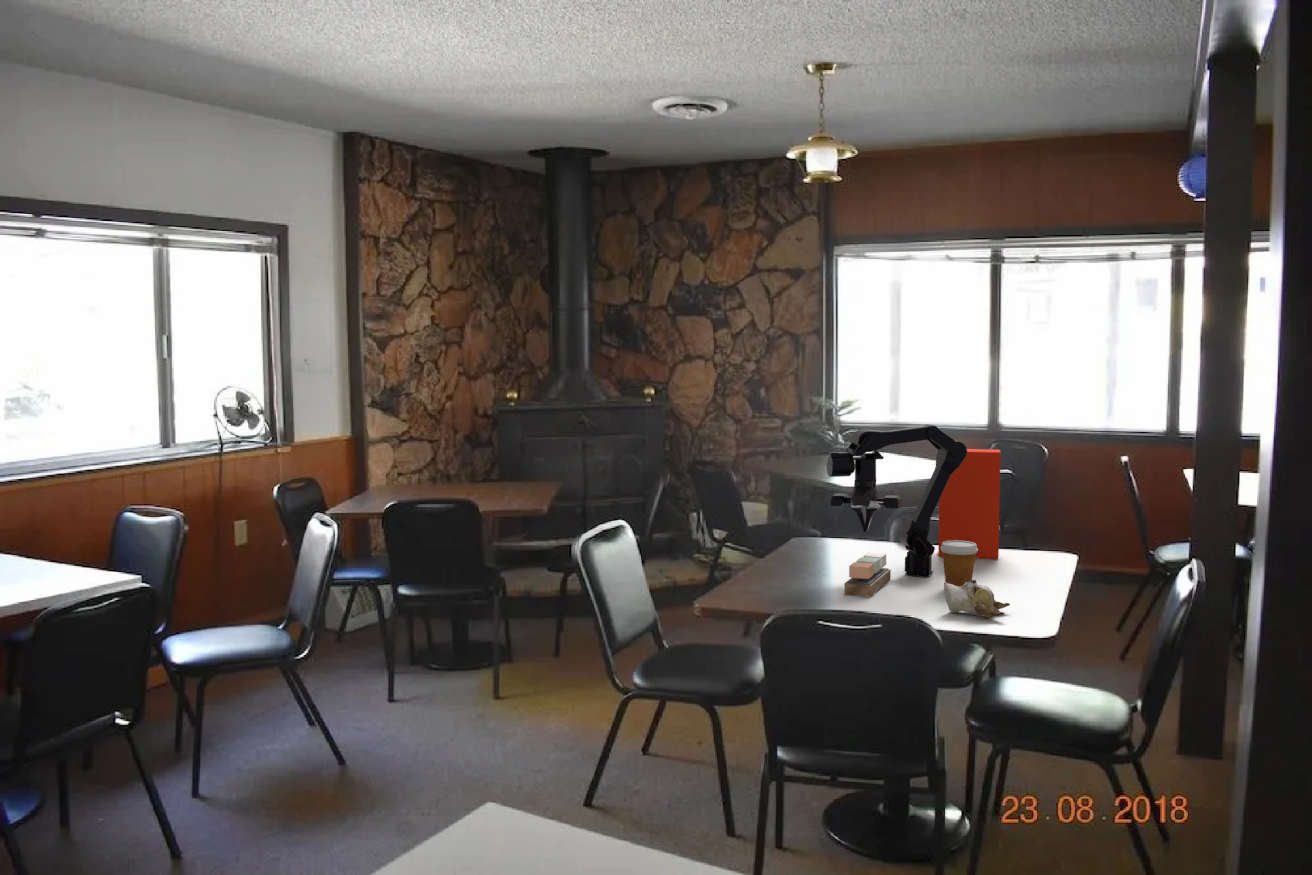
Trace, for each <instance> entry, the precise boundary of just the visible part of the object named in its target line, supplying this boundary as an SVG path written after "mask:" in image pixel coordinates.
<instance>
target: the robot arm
mask: <svg viewBox="0 0 1312 875" xmlns="http://www.w3.org/2000/svg"><path fill="white" fill-rule="evenodd" d="M851 440H852V441H851V443H849V445H848V446H847V448H846V449H845V450H844V451H842V452H841V451H840V452H836V451H829V452H828V454H829V455H828V457H827V462H826V471H827V472H826V473H827V475H828V477H829V478H837V477H842V478H843V477H850V476H852V474H854V485H853V488H852V491H851V493H850V496H849V494H848V493H836V492H835V493H834V494H833V495H832V496H830V498H829V506H830V507H842V506H843V505H844V504H851V506H850V510H851V511H852V510H853V511H854V512H855V513H856V515H857V516H858V518H859V519H858V520H859V521H860V524H861V527H862V530H863V533H867V532H868V531H869V528H870V525H871V523H872V519H873V517H874V515H875V513H876V512H877V511H879V510H880V509H881V508H882V507H881V505H882V506H883V507H885V509H899V508H900V507H901V506H902V497H901V496H900V495H895V494H893V495H891V494H890V495H888V494H887V495H885V496H884V497H879V494H878V493H879V492H878V489H877V460H884V456H883V455H882V454H881V453H880V452H879V450H880V449H883V448H885V447H888V446H891V445H896V444H897V445H898V444H905V443H912V442H919V441H920V442H921V441H927V442H929V443H930V445H932V447H934V448H935V449H936V450H937V452H936V456H935V468H934V470H933V473H932V474H931V477H930V478H929V481H928V483H927V485H926V488H925V490H924V492H923V494H922V495H921V496H922V497H921V499H920V501H919V502H918V505H917V507H916V509H915V511H914V513H913V514H912V515H911V516H910V517H907V516H904V517H903V518H902V522H901V525H900V527H899V528H898V531H899V533H898V538H899V541H900V542H901V543H902V544H903V545H904V548H905V550H907V552H906V556H905V557H904V572H905V573H904V575H905V576H911V577H913V576H914V577H925V578H928V577H930V576H931V575H932V574H933V573H934V571H933V570H932V569H933V568H932V561H933V560H932V559H933V558H932V557H933V555H934V553H935V550H936V546H934V545H933V544H932V543H931V542H930V541H929V540H928V538H929V535H930V534H929V533H930V524H931V518H932V516H933V515H934V513H935V510H936V509H937V506H938V504H939V500H940V498H941V495H942V493H943V491H944V489H945V487H946V485H947V482H948V480H949V478H950V476H951V474H952V473H953V472H954V471H955V470H956V469H957V468H958V467H959V466H960V465H961V464H962V462H963V461H964V459H965V458H966V456H967V449H968V448H967V446H966V445H965V444H964V443H963V442H961V441H957V440H955V439H953V438H952V437H951V436H949V435H948V434H946V433H945V432H943V431H942V430H941V429H939V428H938V426H936V425H933V424H927V423H926V424H924V425H921V426H920V425H919V426H912V427H904V428H896V429H890V430H879V429H863V428H862V429H858V430H857V431H855V433H854V434H853V436H852V439H851Z"/></svg>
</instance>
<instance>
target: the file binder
mask: <svg viewBox="0 0 1312 875" xmlns="http://www.w3.org/2000/svg"><path fill="white" fill-rule="evenodd" d="M966 449H967V456H966V458H965V459H964V461H963V462H962V464H961V465H960V466H959V467H958V468H957V469H956V470H955V471H954V472H953V473H952V474H951V476H950V478H949V480H948V482H947V485H946V487H945V489H944V491H943V493H942V495H941V498H940V500H939V502H938V504H939V505H938V547H937V548H938V552H937V553H938V557H939V558H941V557H942V558H943V555H942V551H941V549H940V547H941V546H942V542H945V541H955V540H957V541H969V542H973V543H976V546H977V548H978V551H977V553H976V557H975V559H982V560H983V559H985V560H987V559H991V560H999V551H1000V550H999V549H1000V548H999V546H1000V501H1001V500H1000V499H1001V498H1000V496H1001V493H1000V492H1001V454H1002V453H1001V452H1002V451H1001V450H1000V449H995V448H994V449H993V448H991V449H990V448H989V449H988V448H987V449H985V448H984V449H981V448H980V449H979V448H966Z"/></svg>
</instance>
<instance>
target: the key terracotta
mask: <svg viewBox="0 0 1312 875" xmlns="http://www.w3.org/2000/svg"><path fill="white" fill-rule="evenodd" d="M848 569H849V570H848V575H849V576H848V577H849V578H850V579H851V578H863V579H869V578H870V577H872V576H873V564H871V563H859V562H856V561H855V562H854V561H853V563H851V564H850V565H849V566H848Z"/></svg>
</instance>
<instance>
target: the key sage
mask: <svg viewBox="0 0 1312 875" xmlns="http://www.w3.org/2000/svg"><path fill="white" fill-rule="evenodd" d="M855 562H859V563H871V564H873V573H874V574H875V573H877V572H878V571H879V570H880V559H878V558H865V557H863V556H862V557H860V558H858V559H857V560H856V561H855Z"/></svg>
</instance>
